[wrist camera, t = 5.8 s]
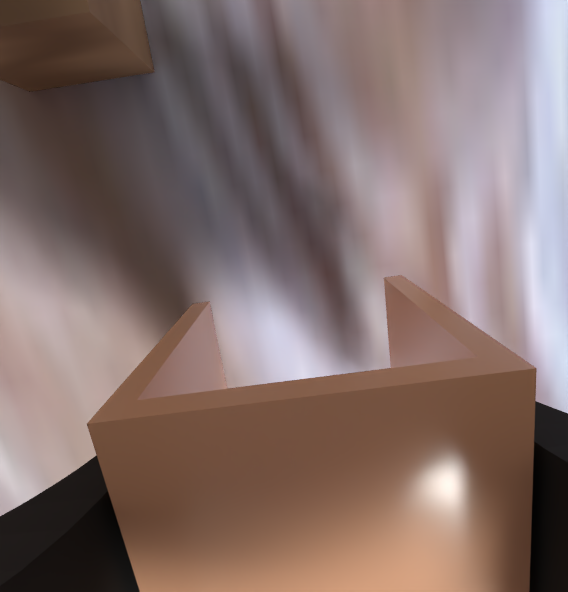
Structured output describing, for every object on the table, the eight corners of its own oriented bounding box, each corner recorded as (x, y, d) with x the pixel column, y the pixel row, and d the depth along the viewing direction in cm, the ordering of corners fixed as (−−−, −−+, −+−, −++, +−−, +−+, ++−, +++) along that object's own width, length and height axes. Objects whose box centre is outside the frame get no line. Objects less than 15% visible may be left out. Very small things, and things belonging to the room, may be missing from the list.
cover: (229, 477, 12) (180, 719, 7) (192, 303, 11) (86, 423, 5) (413, 456, 12) (525, 689, 6) (401, 274, 11) (536, 368, 5)
